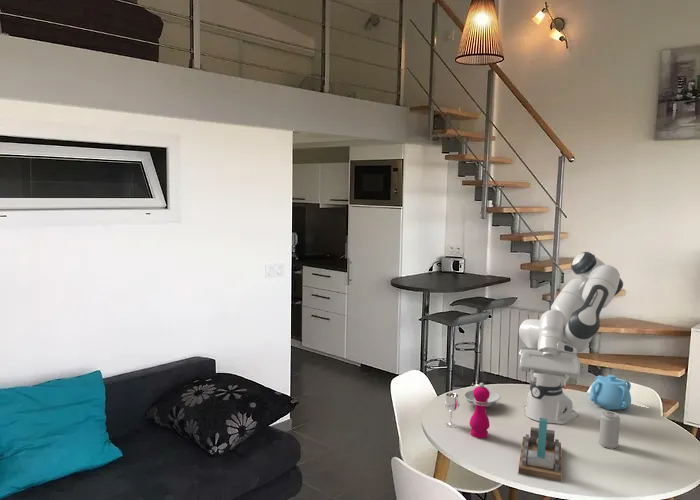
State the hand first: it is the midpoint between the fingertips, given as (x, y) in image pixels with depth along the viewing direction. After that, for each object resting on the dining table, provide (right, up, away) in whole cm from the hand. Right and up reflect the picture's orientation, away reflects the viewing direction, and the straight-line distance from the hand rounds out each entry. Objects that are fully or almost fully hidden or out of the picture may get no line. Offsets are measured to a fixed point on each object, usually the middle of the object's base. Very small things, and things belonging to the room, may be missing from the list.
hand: (548, 384), depth 201 cm
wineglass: (-29, -22, +25) cm, 44 cm away
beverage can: (+26, -25, +11) cm, 37 cm away
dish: (-13, -20, +46) cm, 51 cm away
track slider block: (-6, -24, -10) cm, 26 cm away
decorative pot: (+44, -21, +52) cm, 71 cm away
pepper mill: (-20, -23, +17) cm, 35 cm away
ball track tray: (-3, -25, -2) cm, 25 cm away
